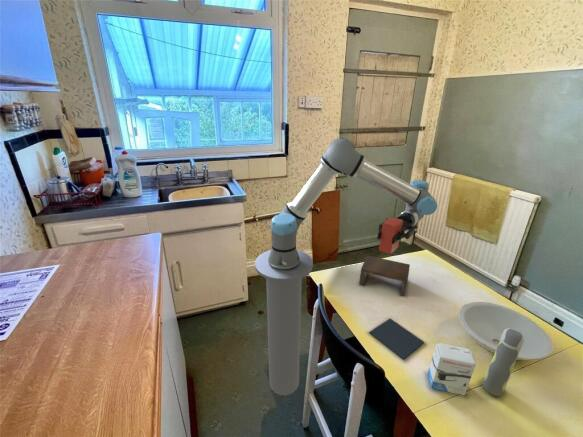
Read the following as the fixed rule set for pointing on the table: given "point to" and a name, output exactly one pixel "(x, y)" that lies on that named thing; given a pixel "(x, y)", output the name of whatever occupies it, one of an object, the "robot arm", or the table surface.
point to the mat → (396, 338)
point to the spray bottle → (503, 362)
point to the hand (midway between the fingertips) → (385, 238)
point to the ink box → (451, 368)
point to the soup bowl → (495, 319)
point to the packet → (390, 234)
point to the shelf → (385, 270)
